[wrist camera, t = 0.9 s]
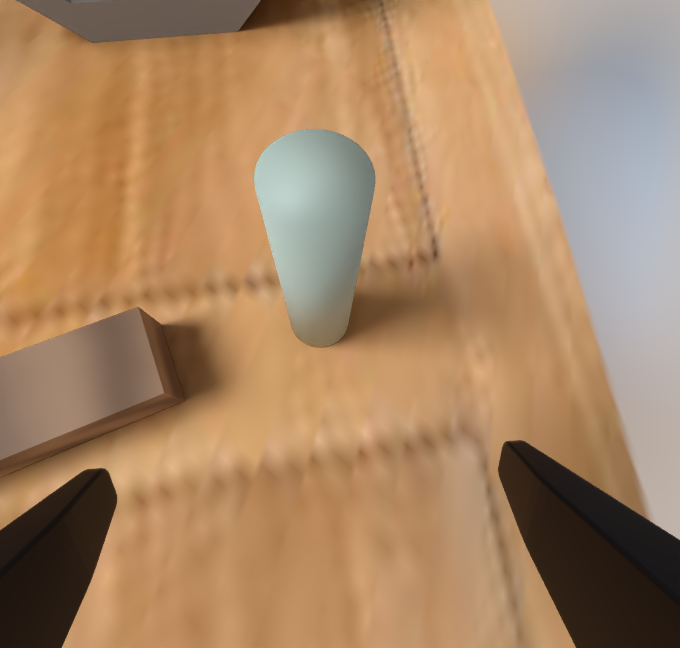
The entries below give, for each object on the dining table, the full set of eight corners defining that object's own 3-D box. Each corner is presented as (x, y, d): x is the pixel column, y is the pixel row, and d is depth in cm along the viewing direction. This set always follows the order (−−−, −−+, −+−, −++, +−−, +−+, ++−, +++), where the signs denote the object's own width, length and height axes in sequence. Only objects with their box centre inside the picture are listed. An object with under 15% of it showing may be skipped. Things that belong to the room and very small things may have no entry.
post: (358, 334, 23) (396, 204, 11) (303, 356, 23) (280, 246, 10) (334, 284, 24) (345, 115, 12) (282, 305, 24) (237, 149, 11)
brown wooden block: (161, 324, 23) (138, 306, 20) (185, 400, 22) (164, 392, 19) (-133, 435, 20) (-206, 432, 18) (-127, 529, 19) (-205, 543, 16)
